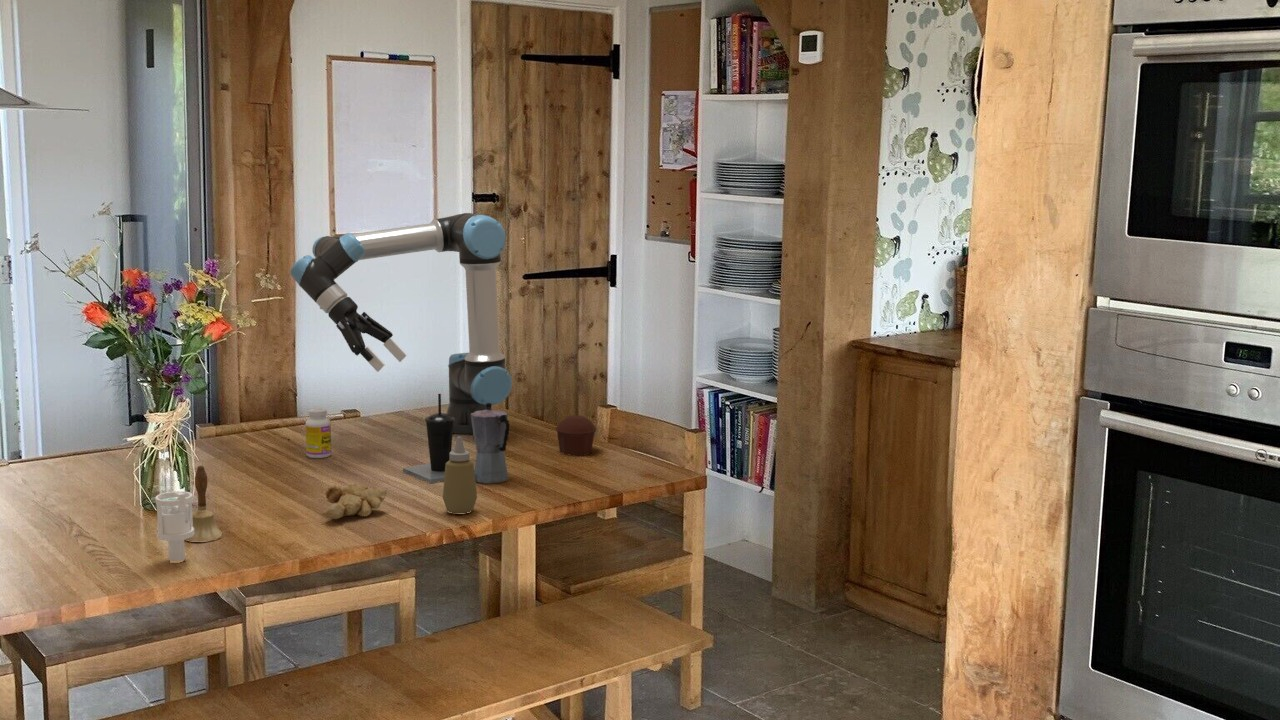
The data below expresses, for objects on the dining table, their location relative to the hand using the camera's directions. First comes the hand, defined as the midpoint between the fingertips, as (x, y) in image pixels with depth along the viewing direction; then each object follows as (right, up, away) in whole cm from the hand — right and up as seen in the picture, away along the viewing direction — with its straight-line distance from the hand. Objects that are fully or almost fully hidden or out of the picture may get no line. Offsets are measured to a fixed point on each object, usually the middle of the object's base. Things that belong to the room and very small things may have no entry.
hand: (392, 363), depth 331 cm
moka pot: (+28, -30, -11) cm, 43 cm away
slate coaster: (+13, -29, -5) cm, 32 cm away
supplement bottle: (-22, -26, +10) cm, 35 cm away
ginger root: (-2, -35, -40) cm, 53 cm away
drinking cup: (+14, -28, -5) cm, 31 cm away
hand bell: (-30, -38, -59) cm, 76 cm away
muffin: (+48, -25, +19) cm, 57 cm away
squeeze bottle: (+23, -35, -38) cm, 57 cm away
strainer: (-29, -41, -74) cm, 90 cm away
